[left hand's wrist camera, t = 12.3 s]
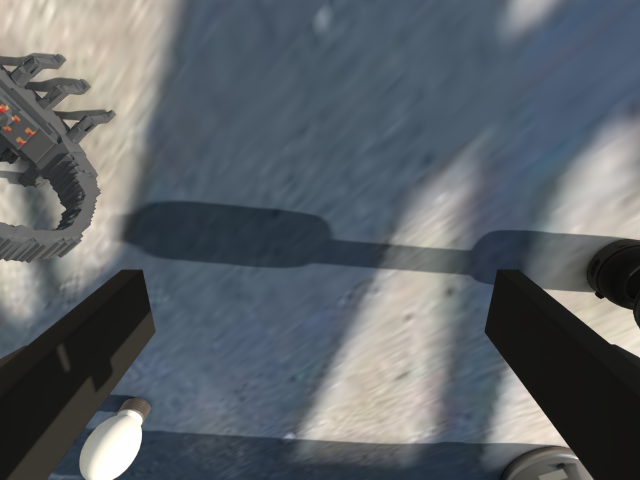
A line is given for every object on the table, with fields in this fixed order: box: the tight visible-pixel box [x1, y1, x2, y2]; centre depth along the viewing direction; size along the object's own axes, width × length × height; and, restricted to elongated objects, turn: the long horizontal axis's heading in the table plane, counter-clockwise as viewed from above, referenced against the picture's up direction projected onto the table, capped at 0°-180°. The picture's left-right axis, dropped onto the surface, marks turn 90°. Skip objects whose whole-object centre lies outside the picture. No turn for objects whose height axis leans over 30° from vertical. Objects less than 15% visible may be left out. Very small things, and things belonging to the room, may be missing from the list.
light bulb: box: [80, 398, 150, 480], centre depth 47 cm, size 7×7×11 cm
